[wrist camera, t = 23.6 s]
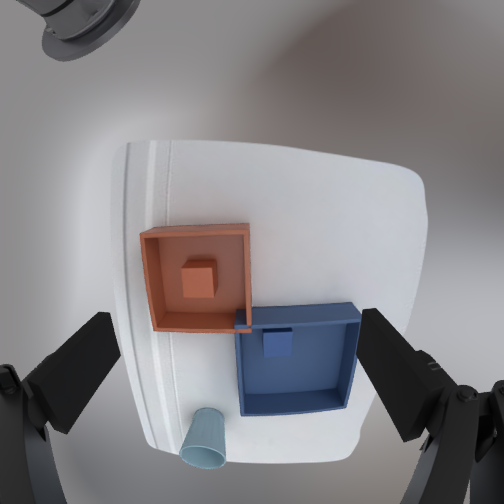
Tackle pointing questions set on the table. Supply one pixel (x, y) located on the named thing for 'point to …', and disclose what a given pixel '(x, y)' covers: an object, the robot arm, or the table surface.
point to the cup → (205, 440)
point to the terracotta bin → (170, 282)
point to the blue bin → (297, 359)
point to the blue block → (277, 342)
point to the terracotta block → (199, 278)
